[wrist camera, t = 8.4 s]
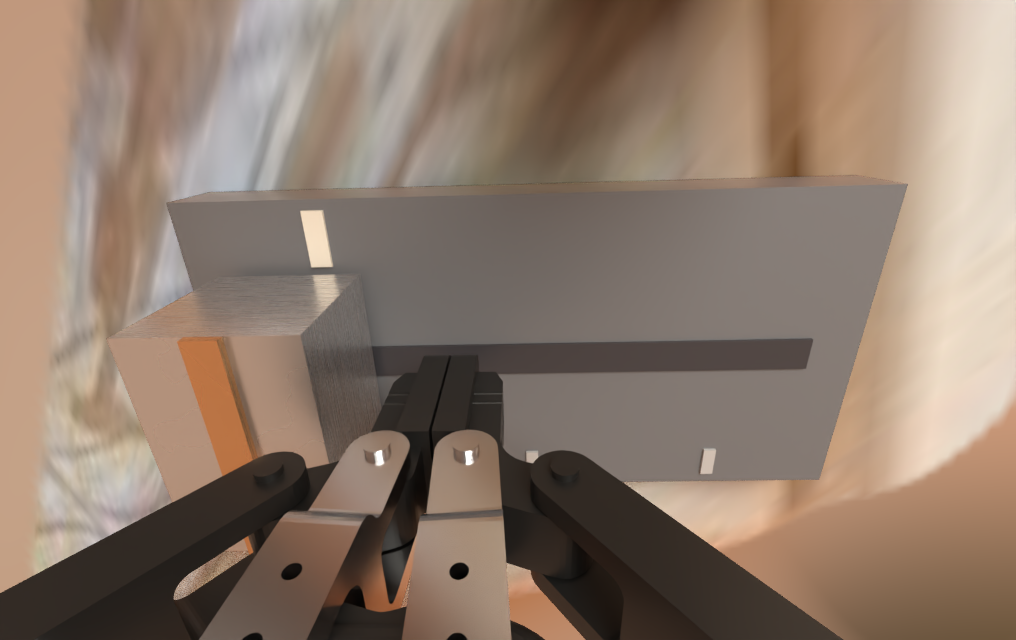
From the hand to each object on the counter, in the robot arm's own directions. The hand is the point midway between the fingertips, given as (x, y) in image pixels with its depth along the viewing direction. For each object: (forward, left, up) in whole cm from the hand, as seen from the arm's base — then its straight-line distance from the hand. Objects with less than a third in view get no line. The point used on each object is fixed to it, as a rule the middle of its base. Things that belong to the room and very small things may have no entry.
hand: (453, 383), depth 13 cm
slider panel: (0, +2, -4) cm, 4 cm away
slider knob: (0, -5, -1) cm, 5 cm away
